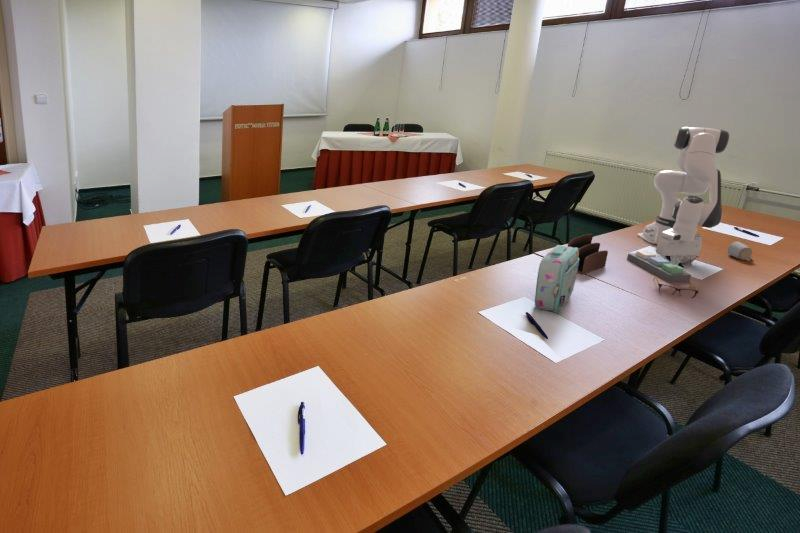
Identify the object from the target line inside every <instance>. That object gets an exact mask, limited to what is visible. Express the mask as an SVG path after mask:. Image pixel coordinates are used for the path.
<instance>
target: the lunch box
mask: <svg viewBox="0 0 800 533" xmlns="http://www.w3.org/2000/svg"><path fill="white" fill-rule="evenodd" d="M567 246H568V245H567ZM567 246H565V245H561V244H557V245H556V246H554V247H553V248H552V249H551V250H550V251H549V252H547V254H545V255H544V256H543V258H542V259H541V261H540V263H539V265H538V266H539V267H538V271H537V276H536V277H537V278H536V283H535V284H536V285H535V294H534V306H535V308H536V309H539V310H545V311H550V312H554V313H556V314H559V313H561V311H563V308H564V306H565V305H566V304H567V303H568V301H569V300H570V298H571V296H572V294H573V290H574V287H575V282H576V278H577V275H578V273H577V270H578V265H579V258H578V256H579V251H578V248H577V247H575V248H573V247H567Z"/></svg>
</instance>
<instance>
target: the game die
mask: <svg viewBox="0 0 800 533" xmlns="http://www.w3.org/2000/svg"><path fill="white" fill-rule="evenodd" d="M677 257H678V256H676V258H677ZM697 258H699V256H698V255H684V256H683V258H682V259H681V260H680V261H679V263H681V264H680V265H682V264H688V265H690V266H691V265H693V264H692V263H694V261H695V260H696V259H697Z"/></svg>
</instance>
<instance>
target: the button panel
mask: <svg viewBox="0 0 800 533" xmlns="http://www.w3.org/2000/svg"><path fill="white" fill-rule="evenodd" d="M626 260H628V261H629V262H632V263H634V264H636V265H638V266H639V267H640V268H643V269H645V270H647V271H649V272H650V273H652V274H653V275H656V276H658V277H659V278H661V279H663V280H665V281H667V282H669V283H670V282H671V283H673V282H690V281H691V279H692V278H691V277H692V274H691V273H688V272H687V271H685V270H684V272H683V273H670V272H668V271H666V270H664V269H662V266H656V265H654V264H652V263H650V262H648V260H649V259H642V258H640V257H639V256H637V255H636V252H629V253H628V254H627V258H626Z"/></svg>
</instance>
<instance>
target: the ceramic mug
mask: <svg viewBox="0 0 800 533" xmlns="http://www.w3.org/2000/svg"><path fill="white" fill-rule="evenodd" d="M752 253H753V249H751V248H750V247H749V245H746V244H744V243H742V242H740V241H733V242H732V243H731V244H729V246H728V248H727V254H728V255H730V256H732V257H734V258H735V259H737V260H740V261H741V260H742V261H744V260H748V259H749V260H751V259H752V258H753V255H752Z"/></svg>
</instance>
